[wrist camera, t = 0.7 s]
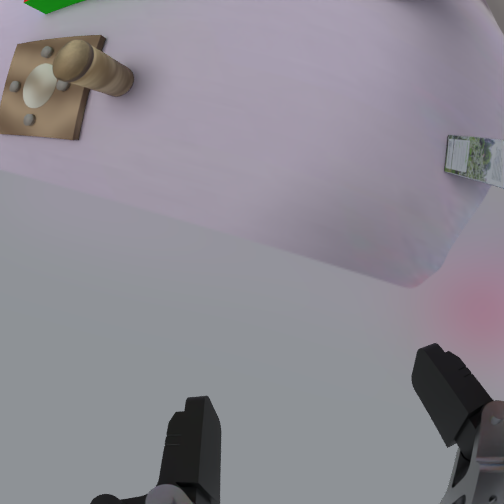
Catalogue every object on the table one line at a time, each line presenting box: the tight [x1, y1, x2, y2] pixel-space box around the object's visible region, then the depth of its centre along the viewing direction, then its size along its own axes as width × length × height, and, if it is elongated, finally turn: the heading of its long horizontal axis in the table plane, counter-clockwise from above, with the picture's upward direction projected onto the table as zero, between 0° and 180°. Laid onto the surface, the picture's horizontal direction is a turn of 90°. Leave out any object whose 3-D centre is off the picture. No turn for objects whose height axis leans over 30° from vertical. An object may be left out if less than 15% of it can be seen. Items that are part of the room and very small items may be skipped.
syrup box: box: [444, 135, 504, 189], centre depth 26 cm, size 6×6×14 cm
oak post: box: [52, 39, 134, 97], centre depth 22 cm, size 4×4×12 cm
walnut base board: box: [0, 35, 106, 140], centre depth 26 cm, size 14×16×3 cm
